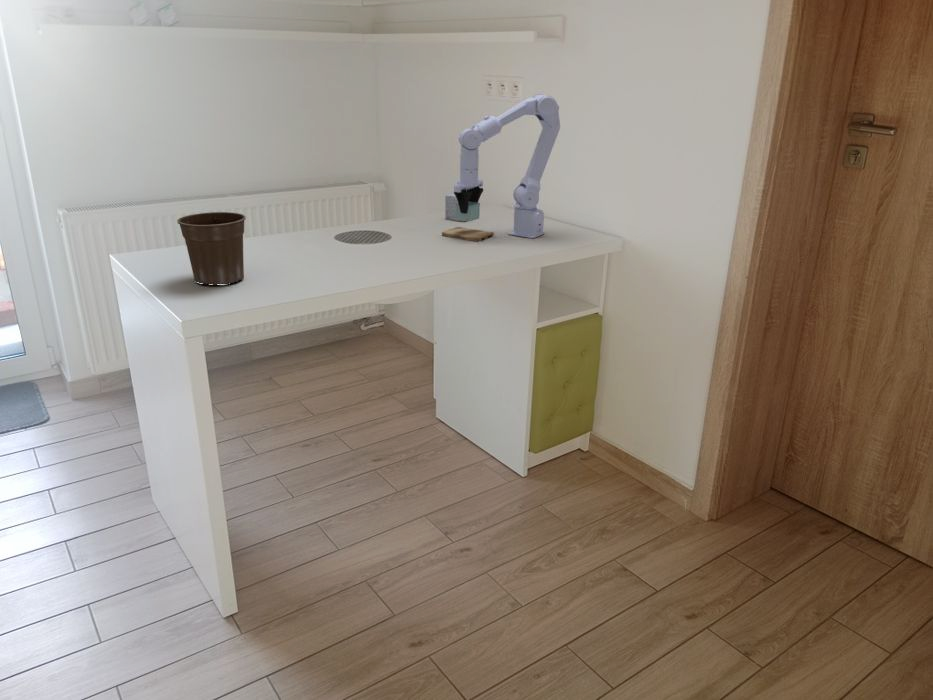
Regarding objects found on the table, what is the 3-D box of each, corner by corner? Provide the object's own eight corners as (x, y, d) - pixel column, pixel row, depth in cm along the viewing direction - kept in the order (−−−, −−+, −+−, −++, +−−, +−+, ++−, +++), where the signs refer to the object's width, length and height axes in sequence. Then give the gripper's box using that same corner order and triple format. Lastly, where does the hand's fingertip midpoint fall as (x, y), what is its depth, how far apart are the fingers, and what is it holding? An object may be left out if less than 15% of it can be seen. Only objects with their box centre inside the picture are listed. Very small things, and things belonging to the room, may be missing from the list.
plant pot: (177, 277, 185) (168, 215, 178) (237, 267, 194) (231, 208, 188) (198, 293, 173) (189, 227, 167) (261, 282, 182) (255, 219, 176)
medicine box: (470, 220, 255) (470, 195, 252) (463, 222, 252) (463, 197, 249) (451, 217, 259) (452, 193, 256) (444, 219, 256) (445, 195, 252)
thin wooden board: (494, 235, 234) (494, 232, 233) (478, 241, 226) (478, 238, 225) (457, 230, 240) (458, 226, 240) (441, 235, 232) (441, 232, 232)
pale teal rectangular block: (479, 218, 231) (479, 202, 230) (471, 221, 227) (471, 205, 225) (463, 215, 234) (463, 200, 232) (455, 218, 230) (455, 203, 228)
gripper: (470, 165, 232) (469, 206, 238) (446, 170, 221) (445, 213, 226) (489, 167, 229) (487, 209, 234) (465, 172, 217) (464, 216, 223)
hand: (468, 211), depth 230 cm, fingers closed on pale teal rectangular block, 5 cm apart
